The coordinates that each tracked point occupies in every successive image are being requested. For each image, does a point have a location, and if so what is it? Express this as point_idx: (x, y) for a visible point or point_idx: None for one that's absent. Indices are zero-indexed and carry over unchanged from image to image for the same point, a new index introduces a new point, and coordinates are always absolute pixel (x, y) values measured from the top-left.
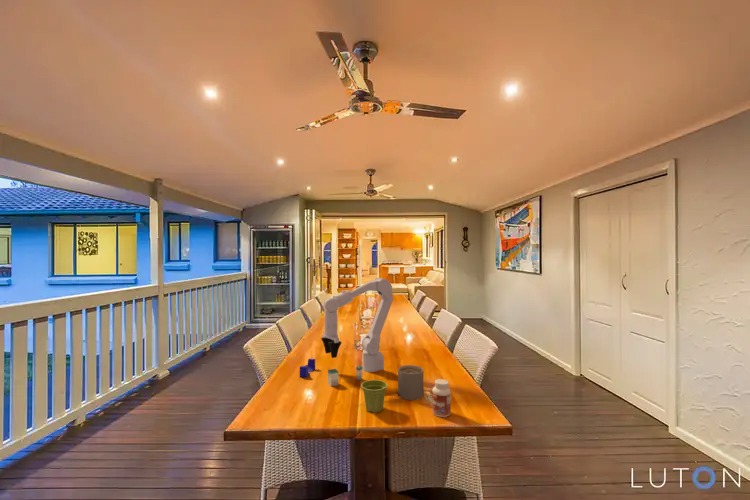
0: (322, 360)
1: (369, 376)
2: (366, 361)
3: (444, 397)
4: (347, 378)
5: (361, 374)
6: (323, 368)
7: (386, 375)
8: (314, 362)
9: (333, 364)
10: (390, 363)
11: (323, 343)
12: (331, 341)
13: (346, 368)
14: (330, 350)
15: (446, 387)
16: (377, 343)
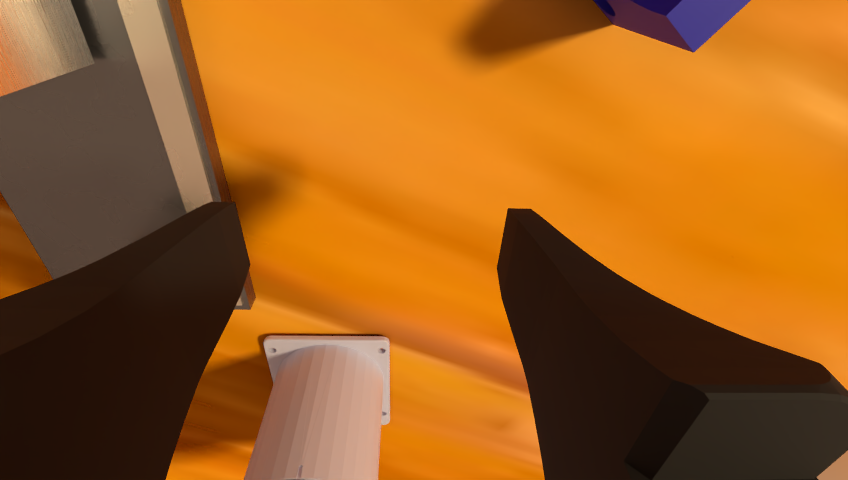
0: (817, 209)
1: (259, 344)
2: (276, 429)
3: None
4: (271, 218)
5: None
6: (626, 138)
7: (243, 410)
8: (651, 18)
9: (646, 247)
10: (419, 476)
11: (653, 298)
12: (547, 455)
13: (491, 290)
14: (505, 294)
15: None
16: None
